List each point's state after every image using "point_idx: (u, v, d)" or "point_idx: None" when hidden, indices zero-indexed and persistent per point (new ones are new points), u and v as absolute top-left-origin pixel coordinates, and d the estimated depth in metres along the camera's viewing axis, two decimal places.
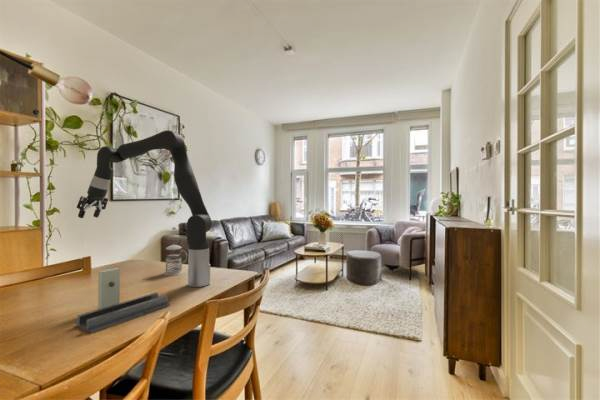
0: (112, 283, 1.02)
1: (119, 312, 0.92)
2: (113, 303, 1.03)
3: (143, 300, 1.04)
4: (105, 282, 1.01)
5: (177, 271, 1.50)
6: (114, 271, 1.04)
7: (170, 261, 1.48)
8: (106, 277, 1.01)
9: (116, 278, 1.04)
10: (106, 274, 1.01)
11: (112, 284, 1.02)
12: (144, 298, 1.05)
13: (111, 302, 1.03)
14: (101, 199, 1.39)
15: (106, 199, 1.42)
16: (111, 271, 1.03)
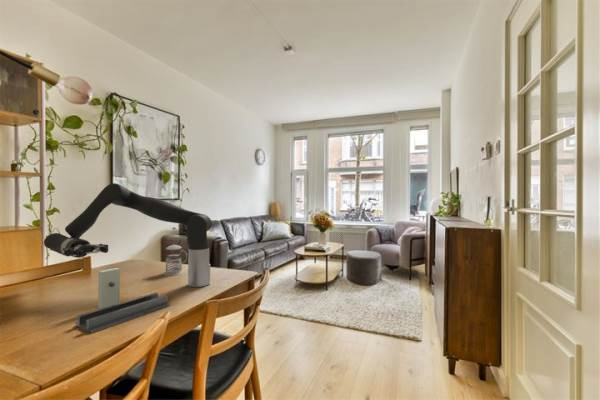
0: (112, 283, 1.02)
1: (119, 312, 0.92)
2: (113, 303, 1.03)
3: (143, 300, 1.04)
4: (105, 282, 1.01)
5: (177, 271, 1.50)
6: (114, 271, 1.04)
7: (170, 261, 1.48)
8: (106, 277, 1.01)
9: (116, 278, 1.04)
10: (106, 274, 1.01)
11: (112, 284, 1.02)
12: (144, 298, 1.05)
13: (111, 302, 1.03)
14: None
15: (98, 244, 1.19)
16: (111, 271, 1.03)
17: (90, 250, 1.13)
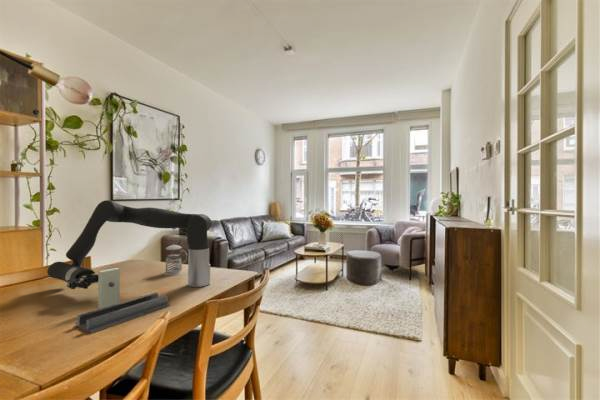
0: (112, 283, 1.02)
1: (119, 312, 0.92)
2: (113, 303, 1.03)
3: (143, 300, 1.04)
4: (105, 282, 1.01)
5: (177, 271, 1.50)
6: (114, 271, 1.04)
7: (170, 261, 1.48)
8: (106, 277, 1.01)
9: (116, 278, 1.04)
10: (106, 274, 1.01)
11: (112, 284, 1.02)
12: (144, 298, 1.05)
13: (111, 302, 1.03)
14: None
15: None
16: (111, 271, 1.03)
17: (95, 280, 1.11)
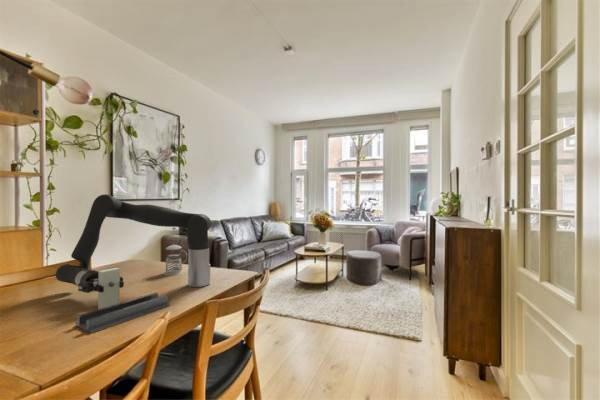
0: (112, 283, 1.02)
1: (119, 312, 0.92)
2: (113, 303, 1.03)
3: (143, 300, 1.04)
4: (105, 282, 1.01)
5: (177, 271, 1.50)
6: (114, 271, 1.04)
7: (170, 261, 1.48)
8: (106, 277, 1.01)
9: (116, 278, 1.04)
10: (106, 274, 1.01)
11: (112, 284, 1.02)
12: (144, 298, 1.05)
13: (111, 302, 1.03)
14: None
15: None
16: (111, 271, 1.03)
17: None
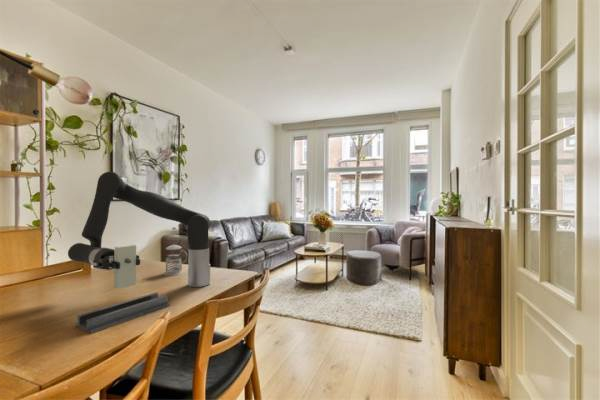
0: (128, 260, 0.97)
1: (119, 312, 0.92)
2: (130, 281, 0.98)
3: (143, 300, 1.04)
4: (121, 258, 0.95)
5: (177, 271, 1.50)
6: (130, 247, 0.98)
7: (170, 261, 1.48)
8: (122, 253, 0.96)
9: (132, 255, 0.99)
10: (122, 250, 0.96)
11: (128, 261, 0.97)
12: (144, 298, 1.05)
13: (127, 280, 0.97)
14: None
15: None
16: (127, 247, 0.97)
17: None
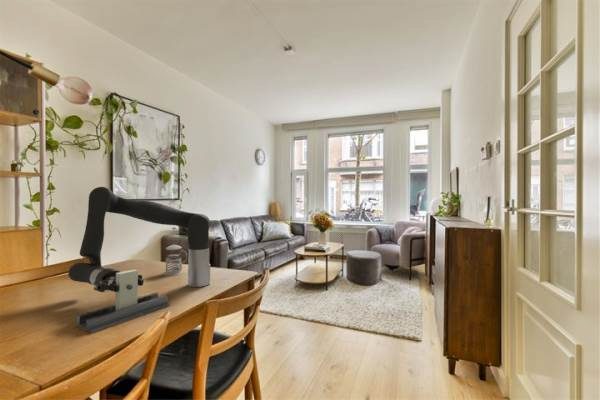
0: (130, 286, 0.96)
1: (119, 312, 0.92)
2: None
3: (143, 300, 1.04)
4: (123, 284, 0.95)
5: (177, 271, 1.50)
6: (132, 273, 0.98)
7: (170, 261, 1.48)
8: (123, 280, 0.95)
9: (134, 280, 0.98)
10: (124, 276, 0.95)
11: (130, 287, 0.96)
12: (144, 298, 1.05)
13: None
14: None
15: None
16: (129, 273, 0.97)
17: None
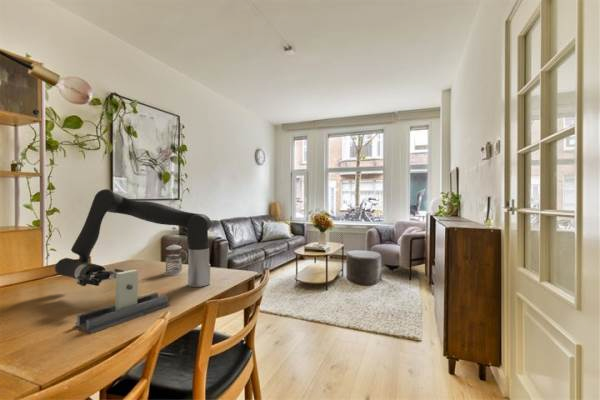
0: (130, 286, 0.96)
1: (119, 312, 0.92)
2: None
3: (143, 300, 1.04)
4: (123, 284, 0.95)
5: (177, 271, 1.50)
6: (132, 273, 0.98)
7: (170, 261, 1.48)
8: (123, 280, 0.95)
9: (134, 280, 0.98)
10: (124, 276, 0.95)
11: (130, 287, 0.96)
12: (144, 298, 1.05)
13: None
14: None
15: (114, 269, 1.12)
16: (129, 273, 0.97)
17: (106, 277, 1.06)
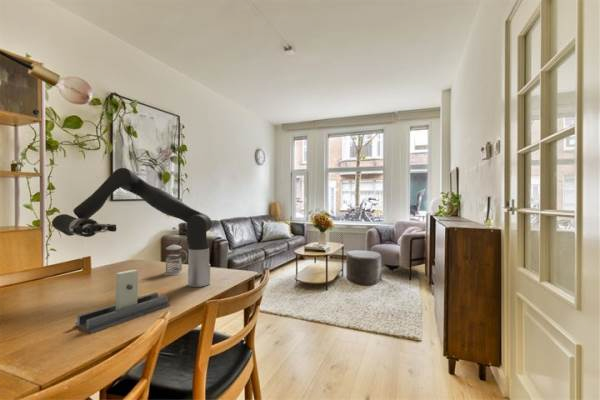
0: (130, 286, 0.96)
1: (119, 312, 0.92)
2: None
3: (143, 300, 1.04)
4: (123, 284, 0.95)
5: (177, 271, 1.50)
6: (132, 273, 0.98)
7: (170, 261, 1.48)
8: (123, 280, 0.95)
9: (134, 280, 0.98)
10: (124, 276, 0.95)
11: (130, 287, 0.96)
12: (144, 298, 1.05)
13: None
14: None
15: (106, 224, 1.20)
16: (129, 273, 0.97)
17: (98, 229, 1.14)
